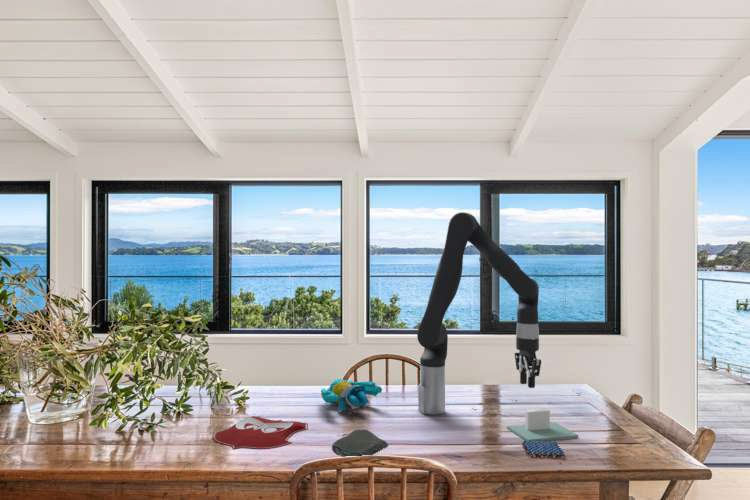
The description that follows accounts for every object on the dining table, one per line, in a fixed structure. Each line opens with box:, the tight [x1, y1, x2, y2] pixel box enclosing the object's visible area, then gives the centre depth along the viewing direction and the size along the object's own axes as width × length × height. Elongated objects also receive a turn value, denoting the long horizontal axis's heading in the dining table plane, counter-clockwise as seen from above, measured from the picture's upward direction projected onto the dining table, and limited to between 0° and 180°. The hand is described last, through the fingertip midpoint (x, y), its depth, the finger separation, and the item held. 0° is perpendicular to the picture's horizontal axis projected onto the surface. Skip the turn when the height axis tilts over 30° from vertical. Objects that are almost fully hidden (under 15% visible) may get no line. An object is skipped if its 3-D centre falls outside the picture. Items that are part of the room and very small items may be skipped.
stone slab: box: [331, 428, 389, 457], centre depth 155 cm, size 24×17×2 cm
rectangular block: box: [524, 408, 551, 430], centre depth 168 cm, size 6×2×8 cm
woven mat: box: [521, 440, 566, 460], centre depth 151 cm, size 10×11×2 cm
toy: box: [320, 378, 383, 413], centre depth 193 cm, size 22×12×25 cm
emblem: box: [212, 415, 309, 450], centre depth 165 cm, size 29×3×30 cm
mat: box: [506, 421, 579, 442], centre depth 167 cm, size 18×13×1 cm
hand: (527, 385), depth 175 cm, fingers open, 4 cm apart
